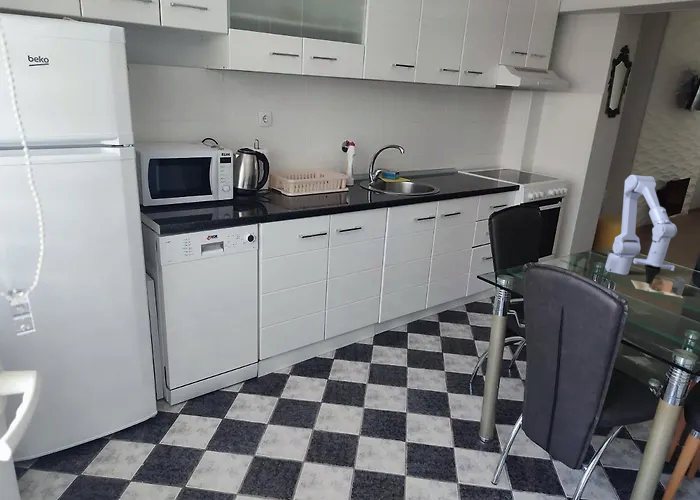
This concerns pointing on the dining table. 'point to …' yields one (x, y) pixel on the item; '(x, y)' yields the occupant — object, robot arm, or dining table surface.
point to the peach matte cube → (666, 285)
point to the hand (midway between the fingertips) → (647, 282)
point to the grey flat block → (679, 285)
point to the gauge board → (647, 288)
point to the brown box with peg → (656, 283)
